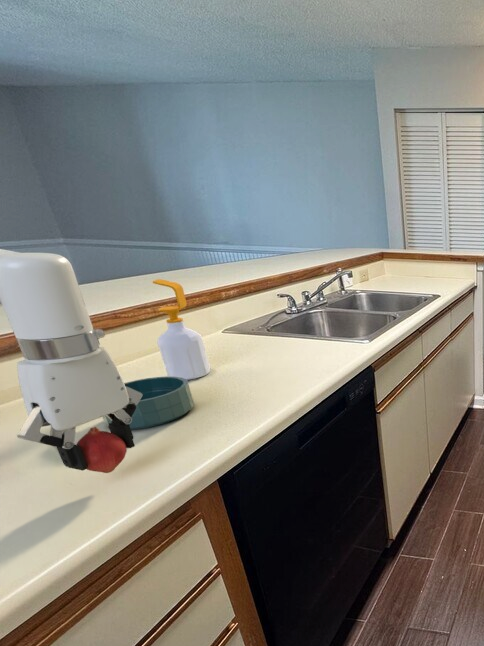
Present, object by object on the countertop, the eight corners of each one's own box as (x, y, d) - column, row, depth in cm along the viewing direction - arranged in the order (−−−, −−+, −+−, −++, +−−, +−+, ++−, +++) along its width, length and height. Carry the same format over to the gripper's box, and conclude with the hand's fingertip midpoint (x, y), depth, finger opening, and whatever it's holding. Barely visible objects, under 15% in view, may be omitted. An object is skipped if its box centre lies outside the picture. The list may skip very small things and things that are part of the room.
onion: (73, 485, 63) (54, 438, 60) (97, 464, 68) (80, 420, 65) (120, 480, 65) (103, 434, 62) (140, 460, 70) (125, 417, 67)
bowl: (87, 426, 84) (75, 399, 82) (159, 398, 97) (151, 373, 95) (144, 435, 81) (135, 407, 79) (211, 405, 94) (204, 380, 92)
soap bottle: (176, 370, 114) (149, 277, 104) (215, 367, 116) (191, 277, 107) (162, 382, 106) (131, 283, 96) (204, 379, 108) (177, 282, 99)
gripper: (108, 328, 67) (140, 428, 74) (-47, 361, 52) (13, 484, 58) (145, 333, 66) (175, 434, 73) (-2, 368, 50) (54, 493, 57)
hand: (102, 455), depth 65 cm, fingers closed on onion, 5 cm apart
